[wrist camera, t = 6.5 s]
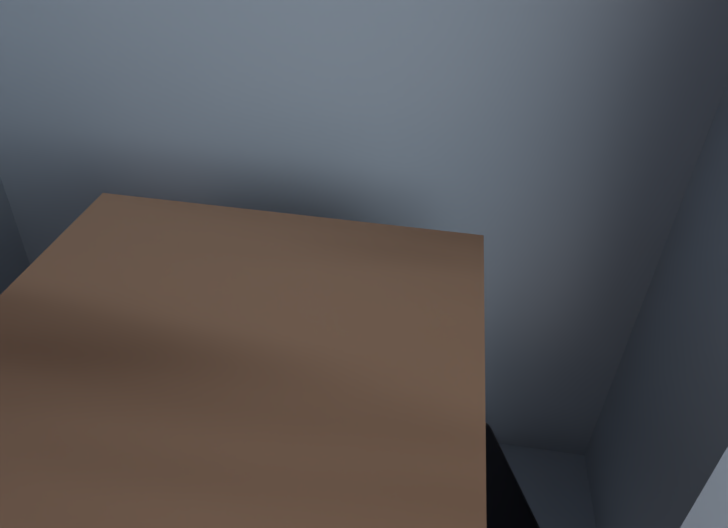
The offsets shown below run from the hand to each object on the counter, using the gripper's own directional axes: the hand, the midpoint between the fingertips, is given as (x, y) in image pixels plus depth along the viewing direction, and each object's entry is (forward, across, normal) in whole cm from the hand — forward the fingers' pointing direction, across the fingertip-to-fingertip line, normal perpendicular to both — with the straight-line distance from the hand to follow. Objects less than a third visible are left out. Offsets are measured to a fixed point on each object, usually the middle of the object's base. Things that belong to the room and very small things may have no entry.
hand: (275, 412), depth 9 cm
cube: (+1, 0, 0) cm, 1 cm away
